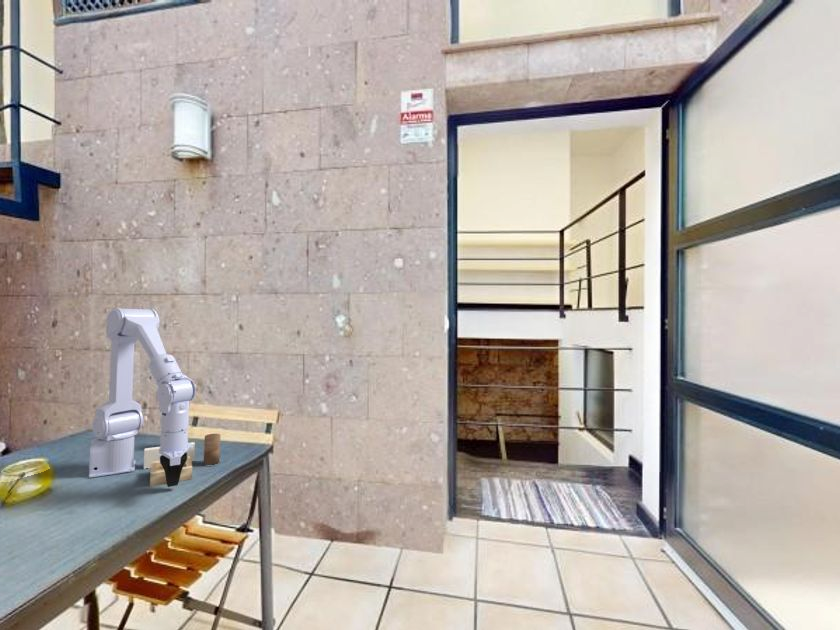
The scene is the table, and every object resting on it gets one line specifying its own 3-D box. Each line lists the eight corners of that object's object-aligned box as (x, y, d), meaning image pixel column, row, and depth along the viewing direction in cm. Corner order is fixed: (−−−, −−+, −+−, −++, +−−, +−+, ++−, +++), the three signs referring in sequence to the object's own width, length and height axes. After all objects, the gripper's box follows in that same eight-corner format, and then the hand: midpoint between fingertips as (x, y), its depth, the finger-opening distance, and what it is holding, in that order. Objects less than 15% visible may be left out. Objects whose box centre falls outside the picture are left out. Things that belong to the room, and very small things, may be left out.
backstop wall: (143, 469, 107) (144, 450, 107) (143, 466, 109) (144, 448, 109) (194, 461, 114) (194, 444, 114) (193, 459, 116) (194, 442, 116)
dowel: (204, 467, 110) (205, 438, 110) (202, 462, 114) (203, 434, 114) (220, 464, 112) (221, 436, 112) (218, 460, 116) (219, 432, 116)
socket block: (150, 486, 97) (150, 474, 97) (150, 473, 105) (150, 461, 105) (191, 478, 102) (192, 467, 102) (189, 467, 110) (189, 456, 110)
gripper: (196, 435, 92) (194, 493, 92) (191, 420, 104) (189, 471, 104) (160, 439, 88) (157, 500, 88) (159, 423, 100) (157, 476, 100)
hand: (172, 485), depth 96 cm, fingers closed
